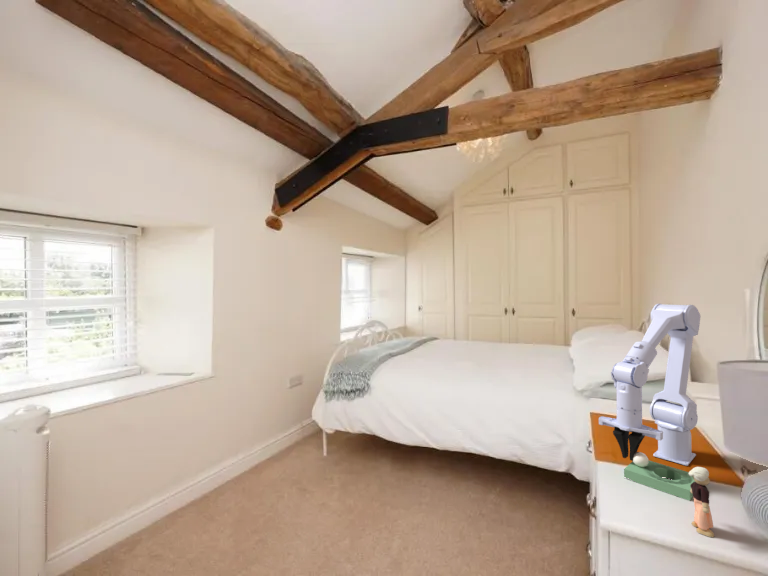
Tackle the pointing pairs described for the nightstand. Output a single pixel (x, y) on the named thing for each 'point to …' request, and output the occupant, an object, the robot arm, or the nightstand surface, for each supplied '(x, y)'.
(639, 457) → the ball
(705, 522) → the grandmother figurine
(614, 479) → the nightstand surface
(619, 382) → the robot arm
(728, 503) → the nightstand surface
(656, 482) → the green
